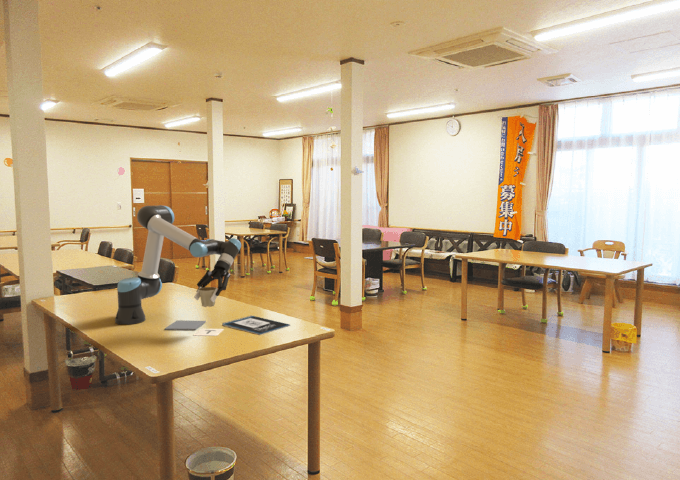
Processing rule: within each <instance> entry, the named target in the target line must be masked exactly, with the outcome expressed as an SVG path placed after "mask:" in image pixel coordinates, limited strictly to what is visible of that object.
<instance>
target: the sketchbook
mask: <svg viewBox="0 0 680 480" xmlns="http://www.w3.org/2000/svg"><path fill="white" fill-rule="evenodd" d="M221 325H222V326H223V327H226V328H230V329H233V330H234V329H235V330H239V331H243V332H247V333H249V334H250V333H251V334H255V335H259V336H262V335H265V334H269V333H272V332H274V331H278V330H281V329H284V328H288V327H290V326H291V324H290V323H286V322H280V321H277V320H272V319H267V318H264V317H260V316H255V315H248V316H243V317H241V318H237V319H236V318H235V319H232V320H228V321H226V322H222V324H221Z"/></svg>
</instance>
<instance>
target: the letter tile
mask: <svg viewBox="0 0 680 480" xmlns="http://www.w3.org/2000/svg"><path fill="white" fill-rule="evenodd" d="M224 330H225V328H200V329H199V330H198V331H196V332H194V334H193V335H192V336H198V337H199V336H205V337H207V336H208V337H218V336H219V334H220V335H221V333H222V332H223V331H224Z"/></svg>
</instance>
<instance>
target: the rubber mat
mask: <svg viewBox="0 0 680 480" xmlns="http://www.w3.org/2000/svg"><path fill="white" fill-rule="evenodd" d="M206 323H207V322H206V320H177V319H176V320H175V321H174V322H172V323H171V324H169V325H168V326H166V327H165V328H164V331H197V330H198V329H199V328H201V327H202V326H203V325H204V324H206Z"/></svg>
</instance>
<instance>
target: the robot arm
mask: <svg viewBox="0 0 680 480" xmlns="http://www.w3.org/2000/svg"><path fill="white" fill-rule="evenodd" d="M136 215H137V216H136V218H137V222H138V223H139V225H140V226H141V227H142V228H145V229H146V230H147V231H148V232H147V237H146V243H145V249H144V256H143V260H142V266H141V271H139V272H138V274H137V276H136V277H134V276H133V277H126V278H123V279H120V280H118V282H117V288H116V289H117V306H118V308H117V311H116V314H115V318H114V321H115V324H116V323H117V324H116V325H121V324H127V325H136V324H139V323H143V322H145V321H146V314H145V312H144V309H143V306H142V300H145V299H149V298H152V297H154V296H157V295H158V294H159V293H160V292H161V291H162V289H163V282H162V280H161V278H160V274H159V273H158V272H159V266H160V260H161V256H162V255H161V254H162V249H163V244H164V238H167V240H169V241H171V242H173V243H175V244H177V245H178V246H181V247H182V248H184V249H186V250H188V251H189V253H190V254H191V256H192V257H194V258H202V257H206V256H212V255H217V256H218V255H219V257H218V259H217V261H216V262H215V264H214V266H213V270H207V271H206V272H205V274H204V275H203V276H202V277H201V279H199V281H198V282H197V283H196V286H197V287H198V288H197V290H195V291H196V293H195V295H194V297H193V298H194V299H195V300H196V301H199V299H201V297H200V293H199V290H198V289H199V288H204V287H208V285H209V284H210V283H211V282H213V281H215V280H217V287H215V288H216V289H215V291H214V293H213V295H212V297H211V301H212V302H215V303H216V300H217V297H219V296H220V294H221V292H223V291H226V290H227V286H228V283H229V280H230V278H231V276H232V275H231V273H230V271H229V270H230V268H231V267H232V265H233V263H234V261H235V259H236V257H237V255H238V253H239V252H240V250H241V248H242V243H241V241H240V240H239V239H238V238H234V237H232V238H229V239H228V240H227V241H224V240H217V239H211V238H207V239H206V240H205V241H203V240H201V239H199V238H198V237H195V236H194V235H193V234H191V233H188V232H187V231H185V230H183V229H181V228H180V227H177V226H176V225H174V222H175V213H174V211H173V210H172V208H171V207H169V206H167V205H161V204H159V205H145V206H142V207H141V208H140V209H138V211H137V214H136Z"/></svg>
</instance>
